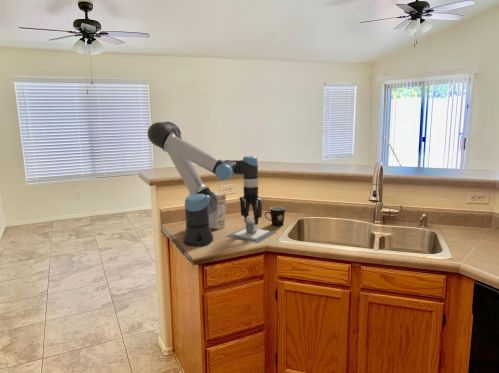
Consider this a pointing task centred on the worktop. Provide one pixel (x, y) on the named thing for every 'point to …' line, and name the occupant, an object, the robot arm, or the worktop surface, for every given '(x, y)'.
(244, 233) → the lid
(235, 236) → the mat
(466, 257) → the worktop surface
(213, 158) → the robot arm
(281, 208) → the coffee mug
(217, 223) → the coffeecake box
